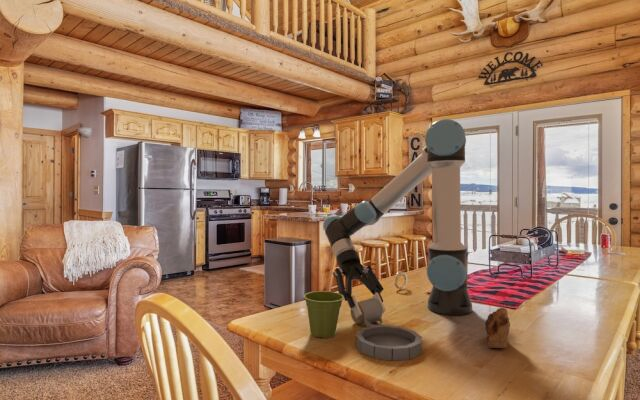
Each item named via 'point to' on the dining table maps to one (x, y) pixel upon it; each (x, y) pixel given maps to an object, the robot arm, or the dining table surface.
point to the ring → (398, 278)
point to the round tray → (389, 342)
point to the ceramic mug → (368, 312)
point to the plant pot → (323, 312)
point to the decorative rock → (497, 328)
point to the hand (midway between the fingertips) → (371, 314)
